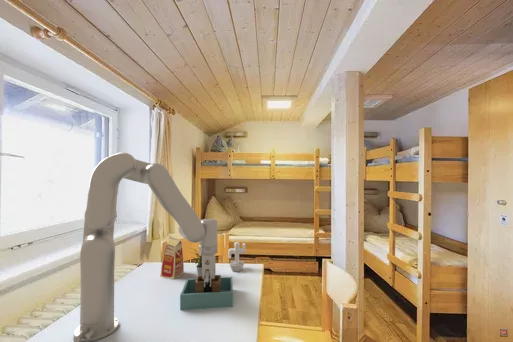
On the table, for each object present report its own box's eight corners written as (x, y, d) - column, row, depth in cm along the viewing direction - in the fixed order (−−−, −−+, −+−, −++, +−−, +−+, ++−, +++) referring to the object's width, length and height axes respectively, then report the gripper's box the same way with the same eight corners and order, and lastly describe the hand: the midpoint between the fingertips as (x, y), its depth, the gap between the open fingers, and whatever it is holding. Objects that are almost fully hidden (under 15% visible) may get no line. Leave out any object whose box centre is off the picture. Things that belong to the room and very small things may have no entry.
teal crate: (232, 307, 97) (232, 292, 97) (180, 310, 95) (180, 295, 95) (232, 290, 112) (232, 276, 112) (186, 292, 110) (186, 278, 110)
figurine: (228, 267, 139) (228, 240, 140) (245, 267, 140) (245, 240, 140) (227, 272, 132) (227, 244, 133) (245, 272, 133) (245, 243, 133)
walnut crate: (220, 297, 101) (220, 281, 101) (195, 298, 100) (195, 282, 100) (220, 290, 108) (220, 274, 108) (197, 291, 106) (197, 276, 107)
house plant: (185, 274, 129) (185, 243, 130) (211, 270, 135) (211, 240, 136) (191, 285, 116) (191, 250, 117) (219, 279, 123) (219, 246, 123)
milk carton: (160, 277, 126) (160, 237, 127) (171, 270, 135) (171, 233, 135) (175, 279, 123) (175, 238, 124) (186, 272, 132) (186, 234, 133)
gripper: (216, 255, 96) (216, 302, 96) (218, 243, 113) (218, 282, 113) (196, 255, 95) (196, 303, 95) (201, 243, 112) (201, 283, 112)
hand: (208, 291), depth 104 cm, fingers closed on walnut crate, 6 cm apart
